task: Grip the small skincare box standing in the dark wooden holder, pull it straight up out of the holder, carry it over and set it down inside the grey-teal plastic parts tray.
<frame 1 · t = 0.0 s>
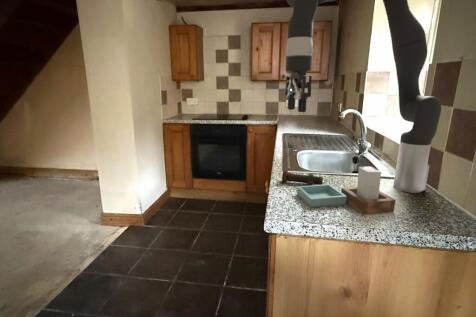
hand: (296, 110, 86), 29 cm above the worktop, tool pointing down, fingers open, 8 cm apart
holder: (365, 205, 89), on the worktop
bolt: (302, 185, 107), on the worktop
skincare box: (365, 206, 89), resting in holder
tray: (320, 199, 93), on the worktop
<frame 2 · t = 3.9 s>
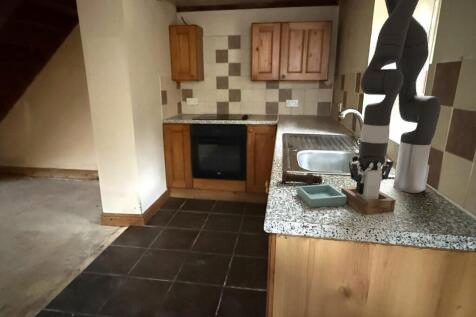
hand: (367, 192, 87), 4 cm above the worktop, tool pointing down, fingers closed on skincare box, 4 cm apart
skincare box: (365, 205, 89), resting in holder, touching gripper
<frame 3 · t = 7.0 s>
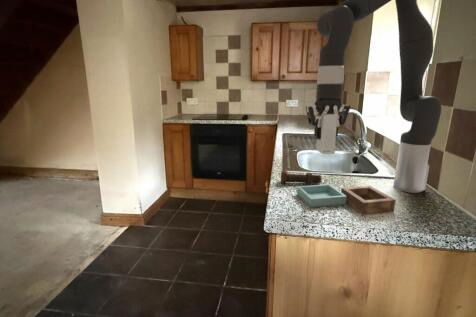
hand: (325, 138, 88), 21 cm above the worktop, tool pointing down, fingers closed on skincare box, 4 cm apart
skincare box: (324, 152, 89), point 16 cm above the worktop, touching gripper
everything else where it was.
when the fingers open (6 cm above the worktop, at t = 10.4 s): skincare box drops 1 cm, resting on tray.
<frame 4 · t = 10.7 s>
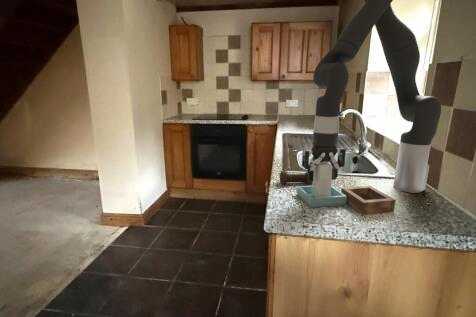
hand: (321, 180, 91), 7 cm above the worktop, tool pointing down, fingers open, 7 cm apart
skincare box: (320, 198, 93), resting on tray
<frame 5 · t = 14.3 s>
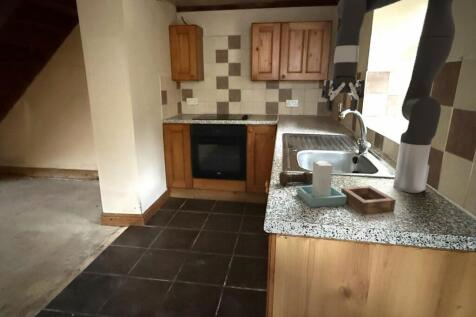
hand: (341, 111, 96), 28 cm above the worktop, tool pointing down, fingers open, 8 cm apart
at the end: skincare box inside the target area on the tray (0.1 cm from its centre), point 0.4 cm above the tray's base; the gripper is holding nothing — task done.
